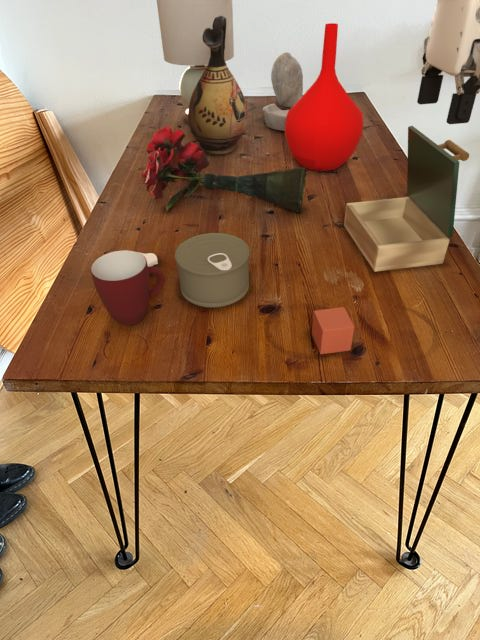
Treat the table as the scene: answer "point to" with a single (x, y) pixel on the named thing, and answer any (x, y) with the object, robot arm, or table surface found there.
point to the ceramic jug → (217, 99)
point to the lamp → (192, 36)
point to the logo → (150, 259)
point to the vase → (324, 117)
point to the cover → (434, 178)
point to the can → (213, 269)
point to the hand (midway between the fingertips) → (441, 112)
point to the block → (332, 330)
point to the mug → (125, 284)
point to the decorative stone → (287, 80)
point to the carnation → (189, 161)
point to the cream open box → (395, 234)
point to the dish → (275, 117)
